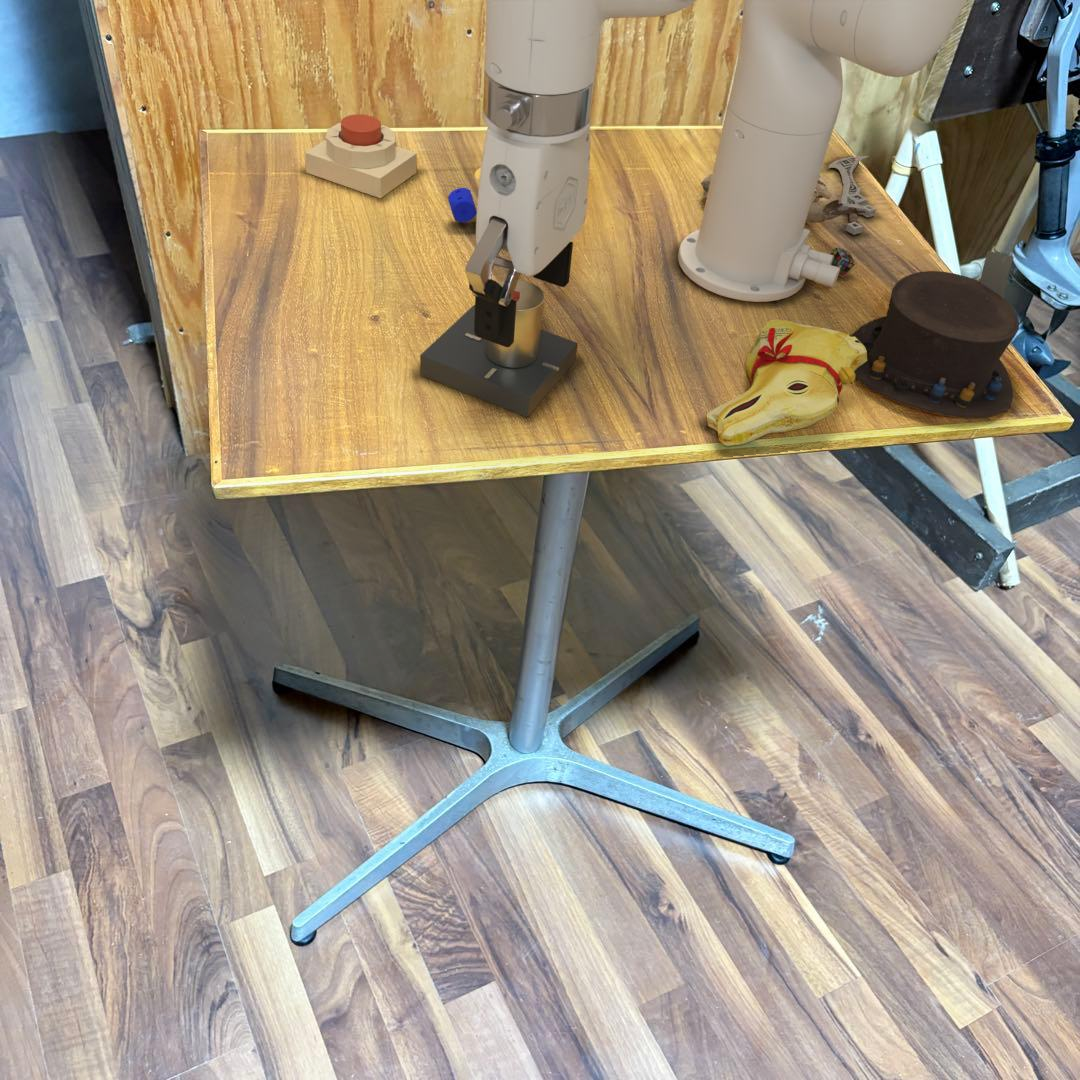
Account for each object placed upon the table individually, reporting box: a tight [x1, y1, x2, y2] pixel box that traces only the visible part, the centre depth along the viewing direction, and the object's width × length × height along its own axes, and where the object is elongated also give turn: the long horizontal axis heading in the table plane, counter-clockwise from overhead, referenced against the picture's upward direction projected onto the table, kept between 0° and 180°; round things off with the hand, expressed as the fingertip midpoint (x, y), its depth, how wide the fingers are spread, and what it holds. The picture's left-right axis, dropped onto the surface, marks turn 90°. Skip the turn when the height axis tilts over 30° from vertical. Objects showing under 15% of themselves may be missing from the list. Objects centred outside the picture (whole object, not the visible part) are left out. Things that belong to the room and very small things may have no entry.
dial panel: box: [419, 304, 578, 418], centre depth 89 cm, size 10×9×2 cm
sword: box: [827, 155, 877, 236], centre depth 119 cm, size 20×1×5 cm
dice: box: [447, 166, 481, 223], centre depth 103 cm, size 8×3×6 cm, turn 100°
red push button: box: [340, 113, 382, 146], centre depth 108 cm, size 4×4×2 cm
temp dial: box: [485, 279, 546, 368], centre depth 86 cm, size 4×4×6 cm
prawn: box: [805, 175, 866, 278], centre depth 111 cm, size 25×12×7 cm, turn 12°
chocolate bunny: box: [706, 318, 867, 447], centre depth 86 cm, size 7×11×15 cm
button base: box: [304, 122, 418, 199], centre depth 110 cm, size 9×7×4 cm
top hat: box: [851, 250, 1020, 419], centre depth 91 cm, size 15×15×10 cm
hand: (522, 309), depth 85 cm, fingers open, 9 cm apart
